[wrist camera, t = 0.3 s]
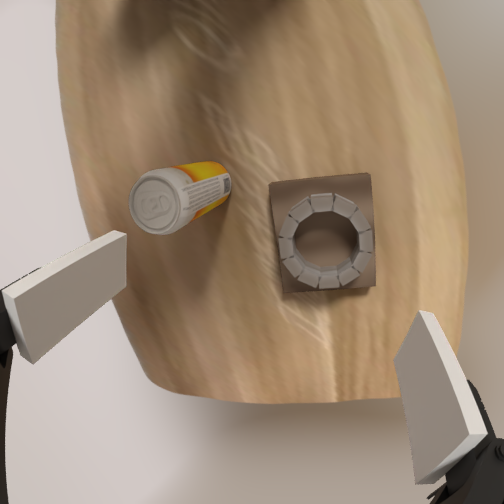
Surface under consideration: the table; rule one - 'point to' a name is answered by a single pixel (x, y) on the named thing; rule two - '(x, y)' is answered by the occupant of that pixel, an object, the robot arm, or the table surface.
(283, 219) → the cup holder
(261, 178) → the table surface
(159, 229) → the beer can
